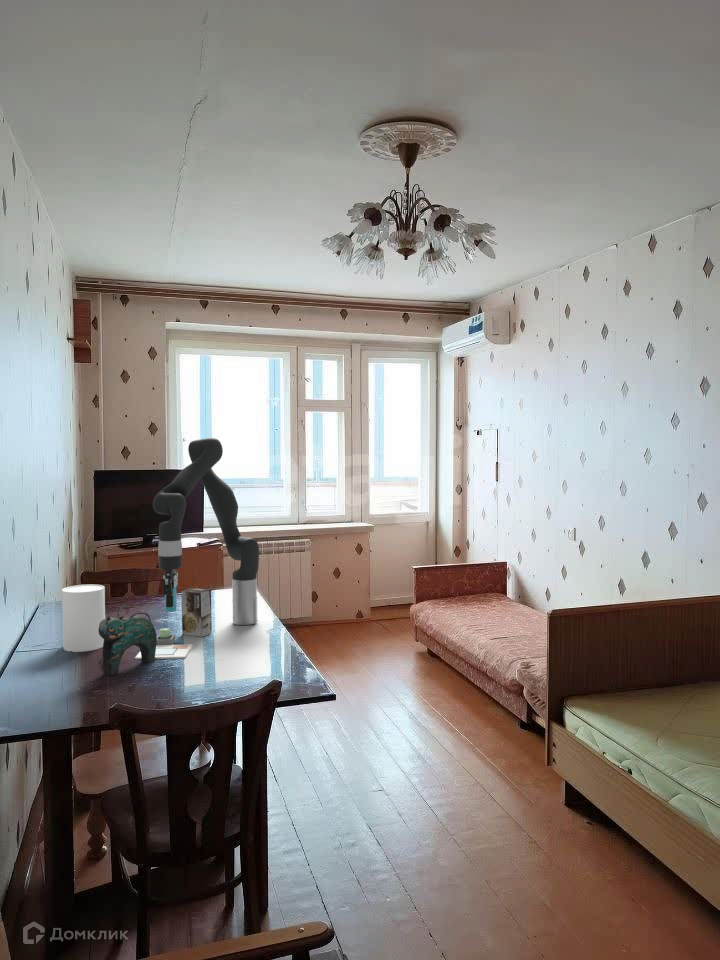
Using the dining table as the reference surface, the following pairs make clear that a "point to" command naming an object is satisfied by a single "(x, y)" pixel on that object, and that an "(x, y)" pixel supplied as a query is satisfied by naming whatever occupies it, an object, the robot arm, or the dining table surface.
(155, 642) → the ceramic cat
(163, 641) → the button housing
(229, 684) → the dining table surface
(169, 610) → the teal capped bottle
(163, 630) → the button
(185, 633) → the coffee box
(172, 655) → the sheet
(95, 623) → the canister
